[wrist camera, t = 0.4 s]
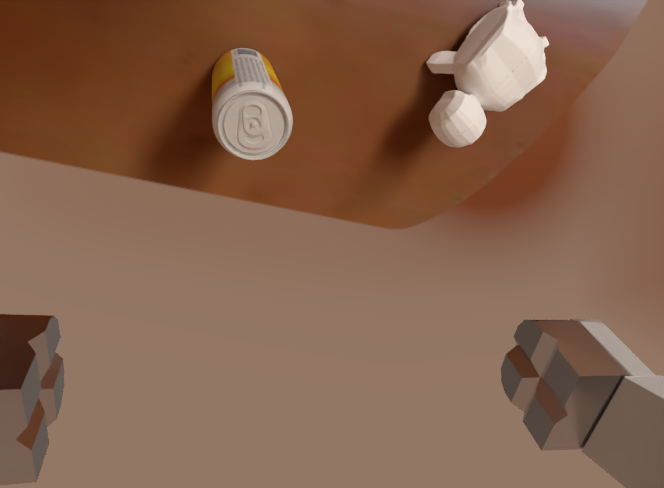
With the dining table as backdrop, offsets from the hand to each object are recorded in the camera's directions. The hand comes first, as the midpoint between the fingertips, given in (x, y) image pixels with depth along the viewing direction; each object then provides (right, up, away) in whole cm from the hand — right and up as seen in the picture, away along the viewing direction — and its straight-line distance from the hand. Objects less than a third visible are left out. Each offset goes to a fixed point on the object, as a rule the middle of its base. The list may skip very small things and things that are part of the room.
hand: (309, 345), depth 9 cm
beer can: (-8, +18, +43) cm, 47 cm away
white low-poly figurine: (+15, +20, +47) cm, 53 cm away
